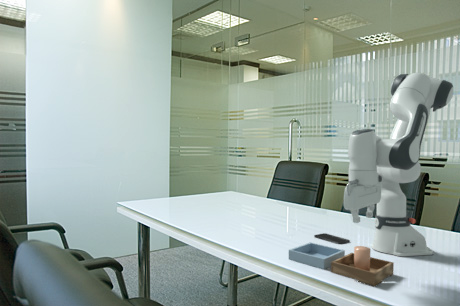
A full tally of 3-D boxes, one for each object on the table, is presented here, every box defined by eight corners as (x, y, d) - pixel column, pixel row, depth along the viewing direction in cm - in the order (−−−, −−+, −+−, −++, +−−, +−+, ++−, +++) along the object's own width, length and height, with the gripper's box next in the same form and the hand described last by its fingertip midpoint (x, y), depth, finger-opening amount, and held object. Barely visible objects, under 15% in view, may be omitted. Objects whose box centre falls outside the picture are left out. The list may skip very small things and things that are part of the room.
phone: (324, 233, 167) (350, 240, 155) (324, 235, 167) (350, 242, 155) (313, 235, 163) (339, 242, 151) (313, 237, 163) (339, 245, 151)
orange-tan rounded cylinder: (366, 269, 119) (366, 246, 118) (372, 275, 114) (372, 250, 113) (351, 269, 119) (352, 246, 118) (357, 275, 114) (357, 250, 113)
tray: (351, 263, 126) (351, 252, 126) (393, 274, 116) (393, 262, 116) (331, 273, 116) (331, 261, 116) (374, 286, 106) (375, 273, 106)
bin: (310, 252, 139) (310, 242, 139) (344, 261, 129) (344, 250, 129) (288, 260, 129) (288, 249, 129) (323, 271, 119) (324, 259, 119)
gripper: (357, 182, 106) (357, 227, 106) (384, 176, 120) (385, 216, 121) (338, 180, 110) (338, 224, 111) (366, 175, 125) (367, 213, 125)
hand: (363, 219), depth 116 cm, fingers open, 8 cm apart
